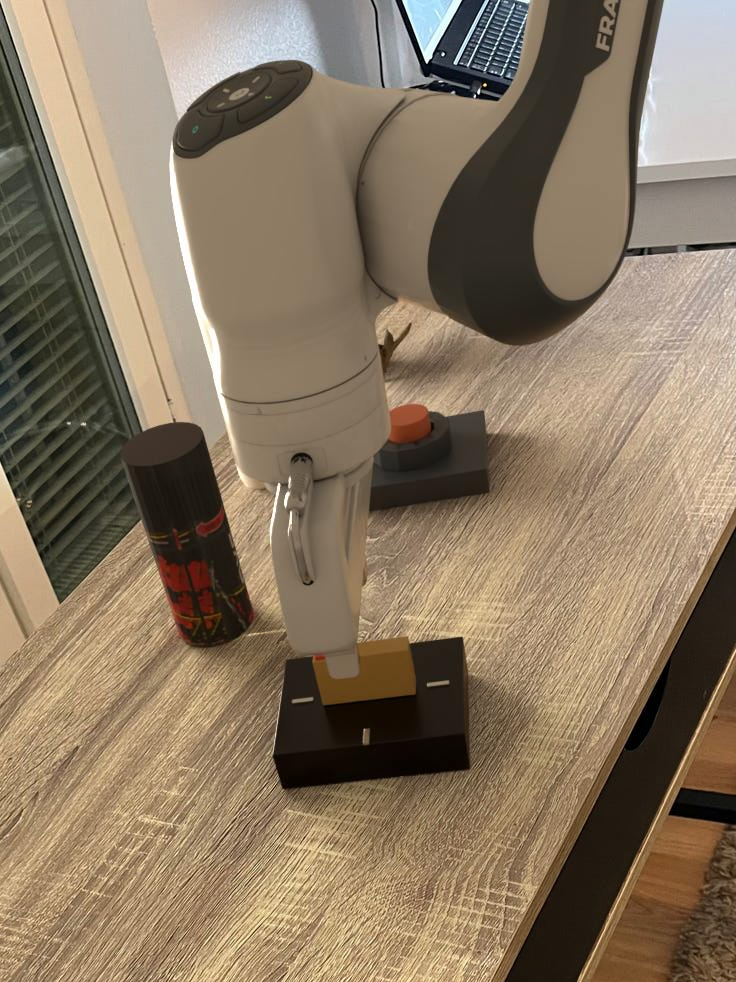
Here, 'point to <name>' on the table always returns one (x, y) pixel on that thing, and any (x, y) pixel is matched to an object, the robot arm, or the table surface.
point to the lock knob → (371, 673)
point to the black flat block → (376, 724)
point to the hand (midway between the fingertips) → (350, 624)
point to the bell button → (409, 423)
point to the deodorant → (188, 532)
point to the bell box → (433, 464)
